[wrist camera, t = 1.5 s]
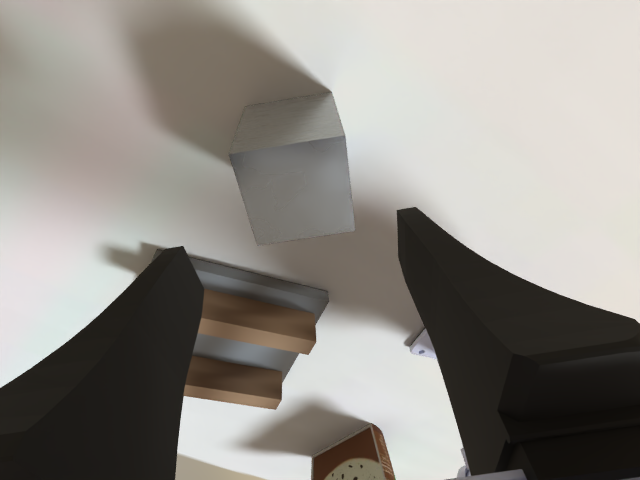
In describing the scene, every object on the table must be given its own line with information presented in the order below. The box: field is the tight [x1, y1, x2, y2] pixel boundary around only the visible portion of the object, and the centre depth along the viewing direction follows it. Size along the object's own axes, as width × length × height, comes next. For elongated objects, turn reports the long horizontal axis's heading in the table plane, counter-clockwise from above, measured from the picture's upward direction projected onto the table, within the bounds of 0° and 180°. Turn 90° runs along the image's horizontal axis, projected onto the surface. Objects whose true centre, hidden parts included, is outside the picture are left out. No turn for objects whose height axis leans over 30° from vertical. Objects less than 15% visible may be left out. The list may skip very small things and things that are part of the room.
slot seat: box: [152, 249, 329, 410], centre depth 27 cm, size 12×12×4 cm
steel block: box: [229, 92, 355, 246], centre depth 18 cm, size 4×4×6 cm
